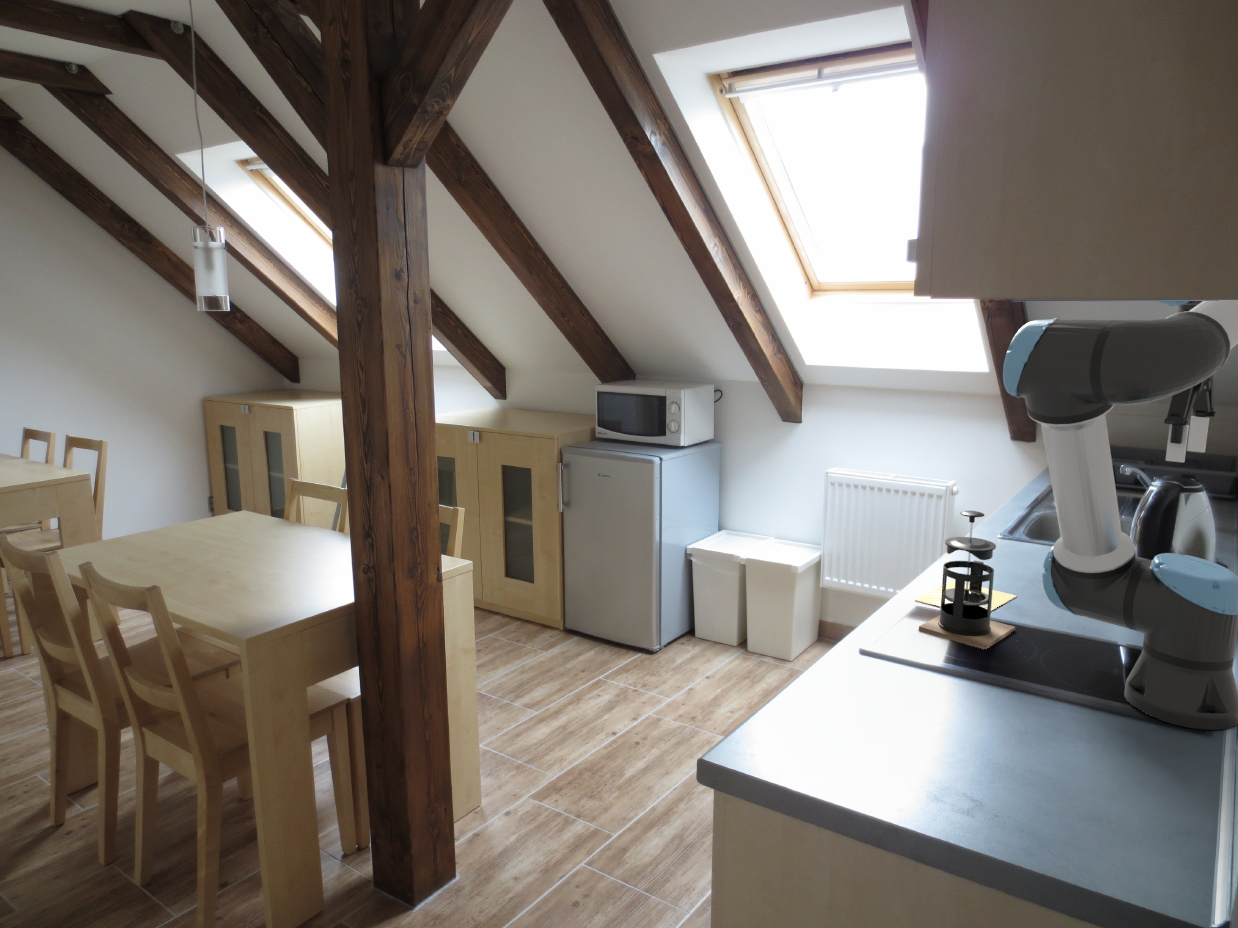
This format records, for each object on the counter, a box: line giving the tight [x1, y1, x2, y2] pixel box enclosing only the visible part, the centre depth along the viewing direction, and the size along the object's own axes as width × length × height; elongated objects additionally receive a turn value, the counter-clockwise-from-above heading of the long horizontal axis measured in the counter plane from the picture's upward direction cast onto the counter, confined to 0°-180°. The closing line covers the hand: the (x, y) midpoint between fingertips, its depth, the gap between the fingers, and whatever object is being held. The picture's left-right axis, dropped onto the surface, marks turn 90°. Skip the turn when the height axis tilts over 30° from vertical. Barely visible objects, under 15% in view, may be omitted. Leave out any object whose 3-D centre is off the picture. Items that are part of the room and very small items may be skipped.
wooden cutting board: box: [918, 614, 1016, 650], centre depth 160 cm, size 13×13×1 cm
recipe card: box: [914, 579, 1018, 612], centre depth 178 cm, size 18×14×1 cm
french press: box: [938, 510, 997, 636], centre depth 158 cm, size 12×9×23 cm
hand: (1185, 456), depth 150 cm, fingers open, 13 cm apart
